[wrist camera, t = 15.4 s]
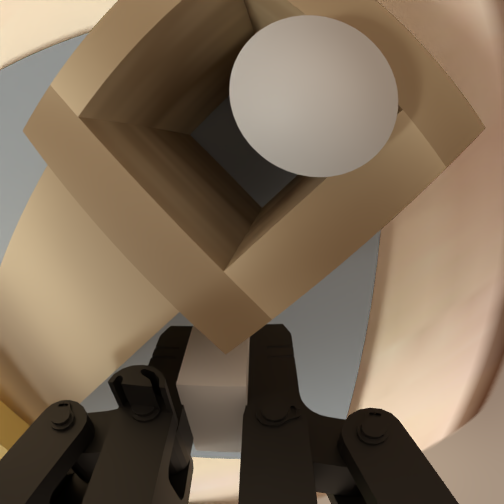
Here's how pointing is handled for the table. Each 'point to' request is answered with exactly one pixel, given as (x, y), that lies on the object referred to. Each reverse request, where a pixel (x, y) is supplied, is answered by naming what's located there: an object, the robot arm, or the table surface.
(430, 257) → the table surface
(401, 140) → the link
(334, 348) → the deck
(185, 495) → the robot arm
